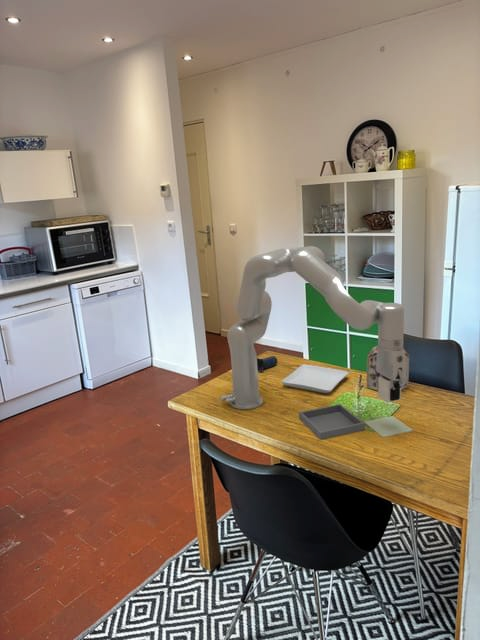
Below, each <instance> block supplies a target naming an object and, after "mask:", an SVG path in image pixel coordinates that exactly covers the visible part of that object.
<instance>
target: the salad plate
mask: <svg viewBox="0 0 480 640" xmlns="http://www.w3.org/2000/svg"><path fill="white" fill-rule="evenodd" d="M349 373H350V372H349V371H347V370H341V369H335V368H329V367H325V366H324V367H323V366H318V365H314V364H313V365H311V364H305V363H303V364H301V365H300V366H299V367H298V368H296V369H295V370H294V371H292V373H290V374H288V375H287V376H286V377H285V378H284V379H282V380H281V383H282V384H283V385H284V386H287V387H291V388H296V389H302V390H306V391H311V392H312V391H313V392H317V393H324V394H328V393H331V392H332V391H333V390H334V388H335V387H336V386H338V384H339V383H340V382H341V381H343V380H344V379H345V378H346V377H347V376H348V375H349Z"/></svg>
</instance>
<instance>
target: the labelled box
mask: <svg viewBox="0 0 480 640" xmlns="http://www.w3.org/2000/svg"><path fill="white" fill-rule="evenodd" d="M396 378H397V377H396ZM394 383H395V384H396V383H397V381H394ZM390 389H392V387H391V380H390V379H388V378H386V377H385V376H379V381H378V391H377V394H378V396H377V397H378V398H379V399H380V400H383V401H384V402H386V403H387V404H388V403H392V402H397V401H398V402H399V401H400V400H401V399H402V390H401V388H400V399H399V400H394V401H391V400H390Z"/></svg>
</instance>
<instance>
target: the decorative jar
mask: <svg viewBox="0 0 480 640" xmlns="http://www.w3.org/2000/svg"><path fill="white" fill-rule="evenodd" d="M377 349H378V345H377V346H374V347H372V349H371V350H370V351H369V353H368V354H367V357H366V388H367V389H368V390H369V389H370V390H372V391H376V392H378V381H379V376H378V373H377V371H376V369H375V367H376V358H377ZM404 351H405V357H406V378H405V381H406V384H404V385H403V386H402V387H401V391H403V390H404V389H407V388H408V387H409V377H410V375H409V374H410V354H408V352H407V351H406V350H405V349H404Z"/></svg>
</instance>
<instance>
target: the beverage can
mask: <svg viewBox="0 0 480 640" xmlns="http://www.w3.org/2000/svg"><path fill="white" fill-rule="evenodd" d="M277 364H278V358H277V357H276V356H275V355H274V356H273V355H271V356H267V357H263V358H259V357H257V370H258V372H259V373H260V374H262V373H264V369H268V368H271V367H274V366H275V367H276V365H277Z"/></svg>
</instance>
